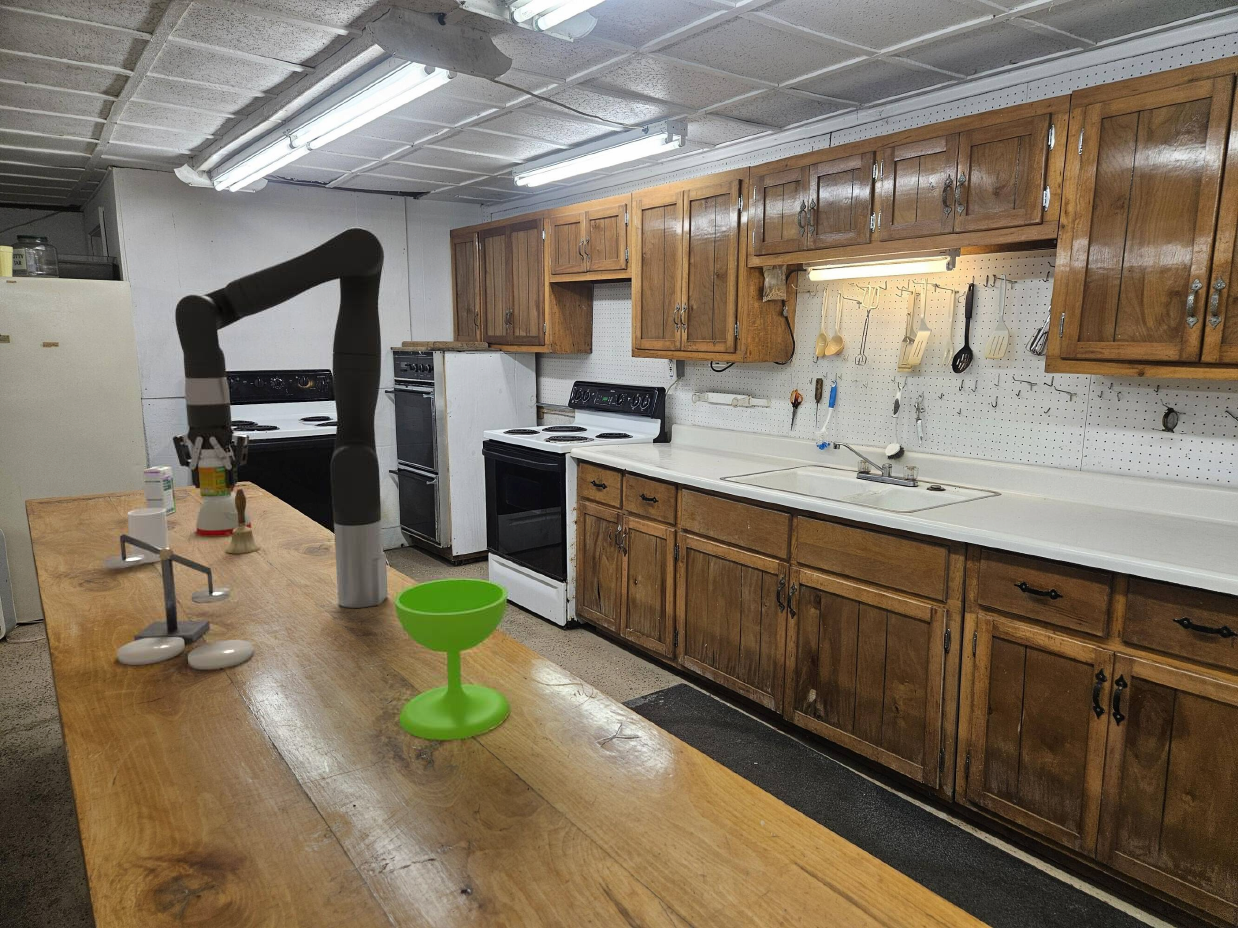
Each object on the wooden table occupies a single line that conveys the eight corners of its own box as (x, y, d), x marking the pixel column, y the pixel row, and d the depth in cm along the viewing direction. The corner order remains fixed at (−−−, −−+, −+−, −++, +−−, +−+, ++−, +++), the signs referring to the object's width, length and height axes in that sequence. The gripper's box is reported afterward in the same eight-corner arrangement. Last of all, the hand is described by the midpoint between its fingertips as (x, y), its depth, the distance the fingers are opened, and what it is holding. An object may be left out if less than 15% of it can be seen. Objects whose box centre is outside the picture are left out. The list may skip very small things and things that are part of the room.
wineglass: (417, 687, 123) (412, 577, 120) (518, 689, 123) (516, 579, 120) (383, 738, 107) (377, 614, 104) (499, 741, 107) (496, 615, 104)
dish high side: (195, 641, 141) (195, 635, 141) (164, 664, 131) (164, 658, 131) (140, 641, 141) (139, 635, 141) (104, 664, 131) (104, 658, 131)
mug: (125, 555, 196) (120, 508, 194) (163, 549, 202) (159, 503, 200) (134, 565, 187) (130, 516, 186) (174, 558, 193) (170, 511, 191)
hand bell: (262, 544, 207) (258, 485, 204) (258, 552, 199) (254, 491, 197) (228, 546, 204) (223, 487, 202) (222, 555, 197) (218, 493, 194)
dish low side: (263, 646, 139) (262, 639, 139) (237, 669, 129) (236, 662, 129) (207, 646, 139) (206, 639, 139) (176, 669, 129) (175, 662, 129)
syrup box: (165, 515, 239) (161, 469, 236) (146, 515, 239) (142, 469, 237) (176, 511, 244) (172, 466, 242) (157, 511, 244) (153, 466, 242)
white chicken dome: (261, 528, 224) (257, 477, 222) (214, 538, 213) (210, 484, 210) (233, 522, 232) (229, 472, 229) (186, 531, 220) (182, 479, 218)
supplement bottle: (218, 500, 150) (214, 450, 148) (194, 499, 151) (190, 450, 149) (237, 495, 155) (233, 446, 153) (214, 494, 156) (210, 446, 155)
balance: (239, 627, 148) (232, 527, 145) (224, 641, 141) (216, 537, 138) (123, 630, 146) (113, 529, 143) (103, 644, 139) (91, 539, 136)
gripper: (254, 399, 154) (260, 483, 156) (181, 399, 154) (188, 484, 156) (236, 402, 146) (243, 491, 149) (159, 403, 146) (167, 491, 149)
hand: (215, 487), depth 153 cm, fingers closed on supplement bottle, 5 cm apart
